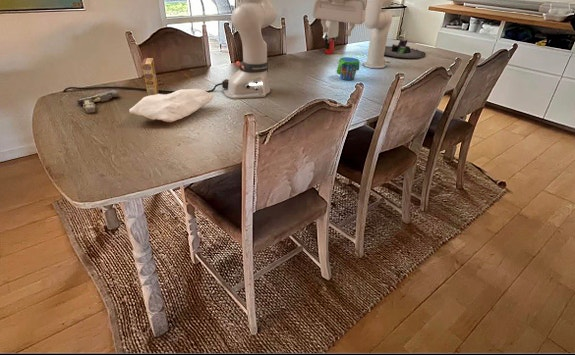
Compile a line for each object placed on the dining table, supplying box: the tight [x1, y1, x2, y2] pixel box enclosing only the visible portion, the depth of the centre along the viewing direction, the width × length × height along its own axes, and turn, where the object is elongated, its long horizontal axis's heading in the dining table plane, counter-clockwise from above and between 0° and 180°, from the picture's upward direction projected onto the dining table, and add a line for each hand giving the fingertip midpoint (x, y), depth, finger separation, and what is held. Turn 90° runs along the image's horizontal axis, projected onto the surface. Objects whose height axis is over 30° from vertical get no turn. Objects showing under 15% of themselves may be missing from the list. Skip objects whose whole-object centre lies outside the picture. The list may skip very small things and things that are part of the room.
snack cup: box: [336, 56, 361, 81], centre depth 195 cm, size 16×10×10 cm
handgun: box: [76, 89, 120, 114], centre depth 155 cm, size 3×18×15 cm
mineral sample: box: [384, 38, 427, 59], centre depth 250 cm, size 35×35×9 cm
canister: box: [325, 38, 335, 55], centre depth 242 cm, size 5×5×9 cm
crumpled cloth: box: [129, 88, 214, 123], centre depth 147 cm, size 24×35×9 cm
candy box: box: [141, 57, 160, 96], centre depth 163 cm, size 9×4×15 cm, turn 13°
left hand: (336, 33), depth 138 cm, fingers open, 8 cm apart
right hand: (329, 47), depth 242 cm, fingers closed on canister, 5 cm apart
